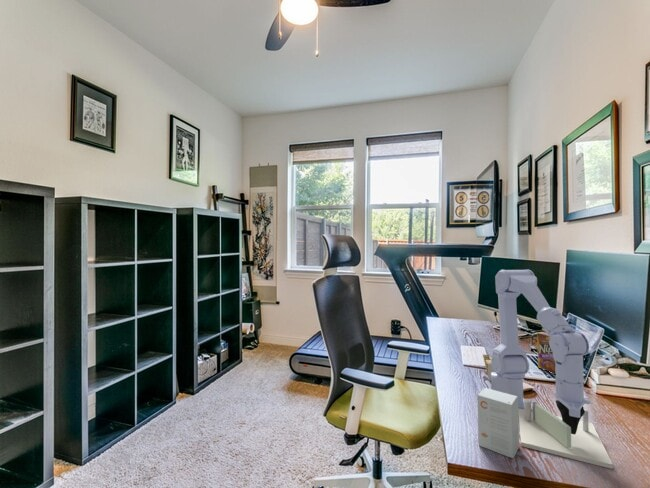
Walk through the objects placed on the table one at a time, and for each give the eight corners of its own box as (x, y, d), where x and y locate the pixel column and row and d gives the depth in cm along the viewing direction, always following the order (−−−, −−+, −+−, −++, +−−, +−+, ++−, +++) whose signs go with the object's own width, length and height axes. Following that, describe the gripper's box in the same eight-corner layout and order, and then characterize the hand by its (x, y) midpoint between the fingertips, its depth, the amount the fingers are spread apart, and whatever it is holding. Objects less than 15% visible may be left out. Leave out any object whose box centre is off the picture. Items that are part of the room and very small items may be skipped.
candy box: (537, 368, 135) (536, 332, 136) (544, 367, 137) (544, 331, 137) (558, 376, 127) (557, 337, 127) (566, 375, 128) (565, 336, 128)
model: (488, 382, 123) (488, 362, 123) (481, 371, 133) (480, 353, 134) (497, 382, 122) (497, 362, 122) (489, 372, 133) (489, 353, 133)
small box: (519, 447, 82) (518, 396, 82) (513, 459, 77) (512, 404, 77) (485, 435, 87) (484, 386, 87) (477, 445, 83) (477, 394, 83)
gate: (532, 419, 92) (532, 401, 92) (535, 419, 92) (535, 401, 92) (567, 447, 79) (566, 427, 79) (571, 447, 79) (570, 427, 79)
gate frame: (521, 445, 82) (520, 420, 82) (518, 411, 100) (517, 390, 100) (613, 469, 73) (612, 440, 74) (592, 426, 91) (591, 403, 91)
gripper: (596, 393, 74) (597, 453, 74) (582, 372, 87) (583, 423, 86) (558, 387, 77) (559, 444, 77) (551, 368, 90) (551, 416, 90)
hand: (570, 432), depth 82 cm, fingers closed
